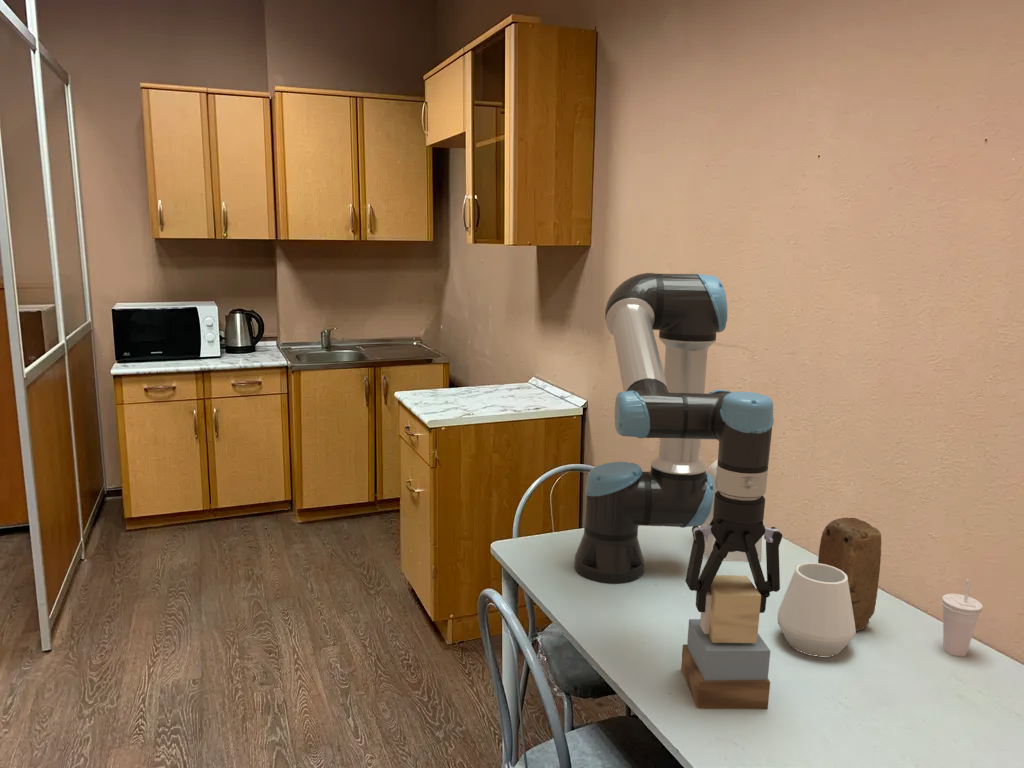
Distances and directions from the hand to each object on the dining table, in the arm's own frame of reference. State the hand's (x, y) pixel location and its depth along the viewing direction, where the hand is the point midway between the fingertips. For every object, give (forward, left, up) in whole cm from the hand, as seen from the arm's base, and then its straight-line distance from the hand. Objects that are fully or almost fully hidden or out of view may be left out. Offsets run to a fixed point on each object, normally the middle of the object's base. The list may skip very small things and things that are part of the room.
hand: (728, 629), depth 124 cm
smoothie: (-13, +46, -11) cm, 49 cm away
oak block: (0, 0, 0) cm, 0 cm away
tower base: (0, 0, -11) cm, 11 cm away
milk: (-57, +18, -11) cm, 61 cm away
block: (-24, +30, -11) cm, 40 cm away
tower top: (0, 0, -6) cm, 6 cm away
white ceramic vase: (-15, +21, -11) cm, 28 cm away
